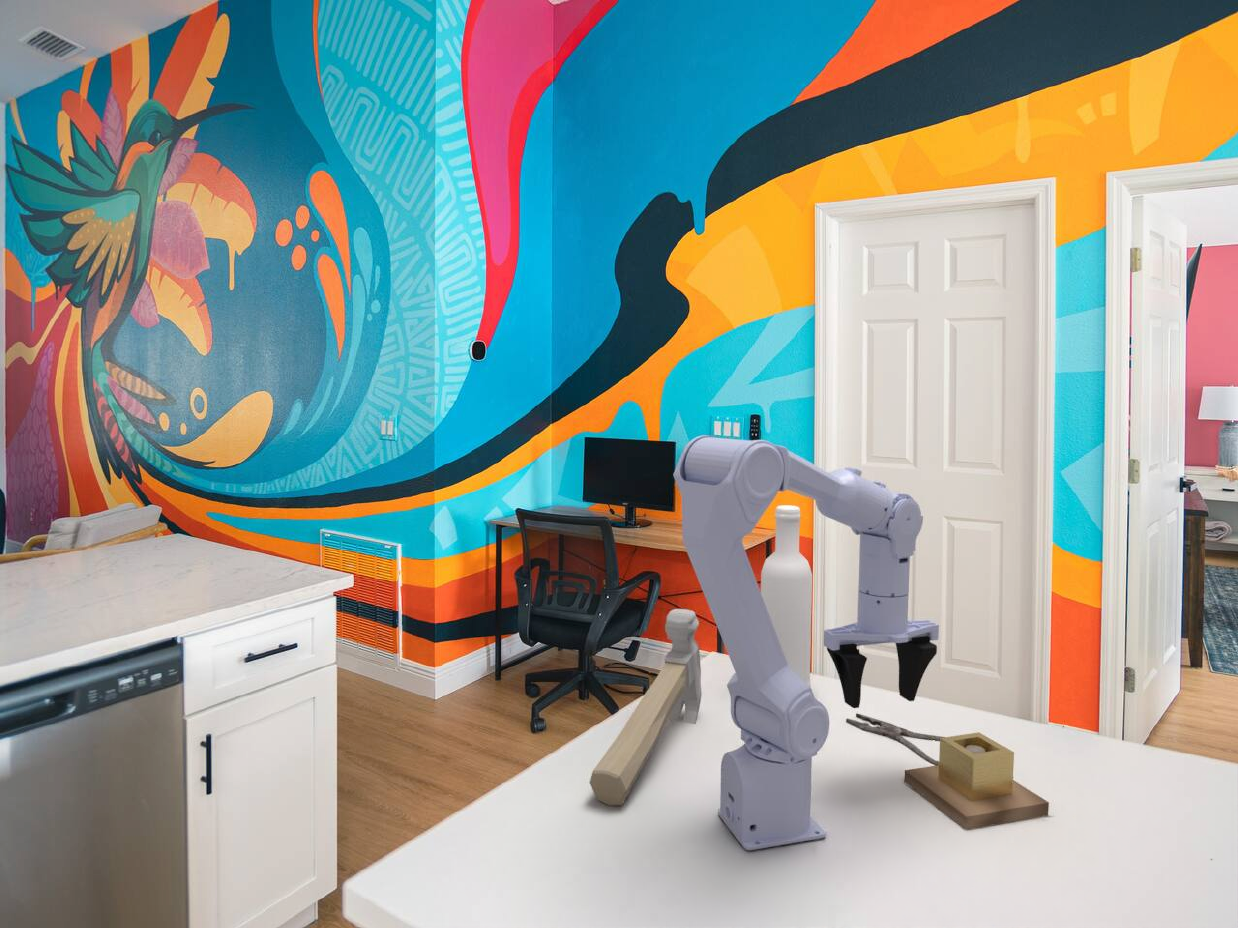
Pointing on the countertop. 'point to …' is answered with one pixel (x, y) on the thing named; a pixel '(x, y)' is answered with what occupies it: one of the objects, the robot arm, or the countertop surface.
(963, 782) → the collar
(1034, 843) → the countertop surface
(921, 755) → the pliers
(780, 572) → the bottle
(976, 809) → the post board
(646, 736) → the hammer
